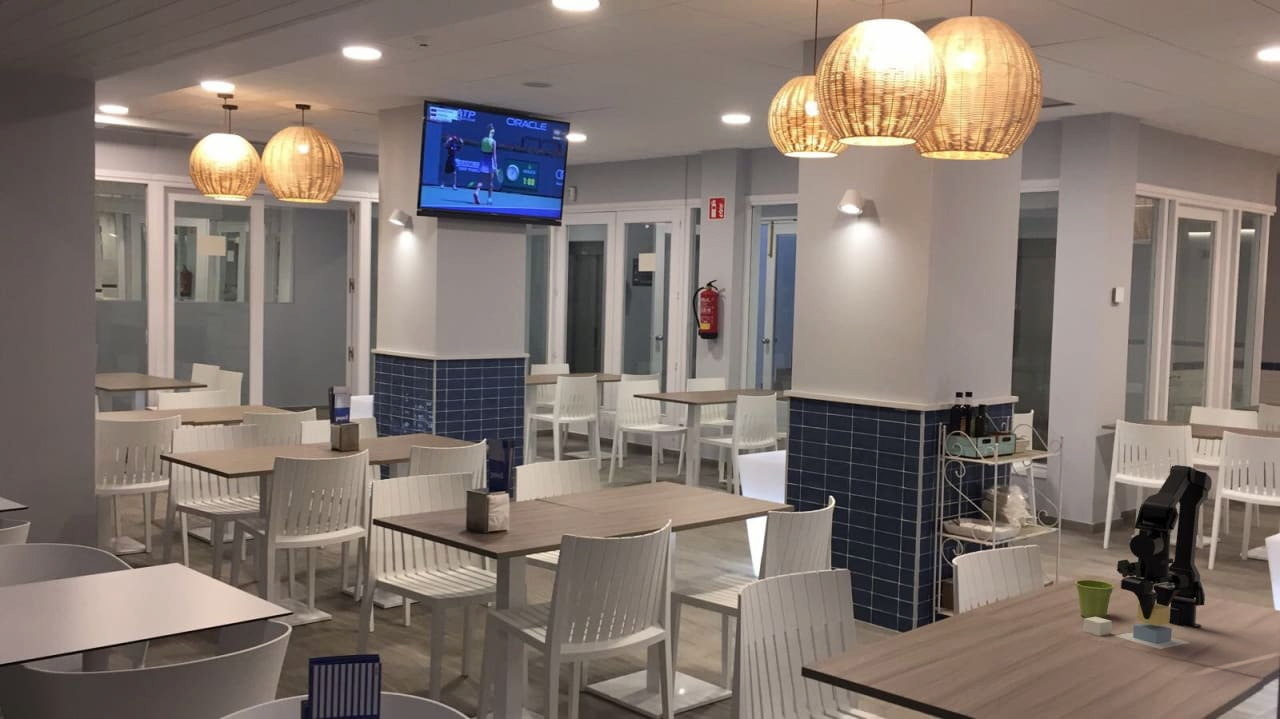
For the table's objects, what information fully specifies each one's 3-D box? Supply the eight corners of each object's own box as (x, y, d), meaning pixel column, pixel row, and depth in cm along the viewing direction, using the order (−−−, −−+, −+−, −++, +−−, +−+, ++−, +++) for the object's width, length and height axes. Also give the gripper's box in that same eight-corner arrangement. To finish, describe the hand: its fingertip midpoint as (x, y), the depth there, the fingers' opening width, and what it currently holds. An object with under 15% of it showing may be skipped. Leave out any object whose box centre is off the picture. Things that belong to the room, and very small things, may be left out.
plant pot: (1107, 623, 290) (1108, 590, 290) (1069, 616, 296) (1070, 583, 295) (1117, 616, 297) (1118, 583, 297) (1079, 610, 303) (1081, 577, 303)
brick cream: (1094, 632, 282) (1095, 616, 281) (1111, 637, 278) (1111, 621, 278) (1083, 634, 279) (1084, 618, 279) (1099, 639, 275) (1100, 623, 275)
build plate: (1144, 633, 282) (1144, 629, 282) (1189, 645, 272) (1190, 642, 272) (1114, 639, 276) (1114, 635, 276) (1159, 652, 265) (1160, 648, 265)
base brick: (1148, 634, 278) (1148, 622, 278) (1171, 640, 273) (1171, 628, 273) (1133, 637, 275) (1133, 625, 274) (1155, 643, 270) (1156, 631, 269)
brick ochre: (1150, 618, 277) (1150, 602, 277) (1169, 623, 273) (1169, 606, 273) (1137, 620, 274) (1138, 604, 274) (1156, 625, 270) (1157, 609, 270)
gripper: (1149, 543, 285) (1146, 605, 285) (1102, 549, 275) (1099, 614, 275) (1191, 552, 275) (1188, 616, 276) (1144, 559, 265) (1141, 625, 266)
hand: (1153, 617), depth 274 cm, fingers closed on brick ochre, 5 cm apart
